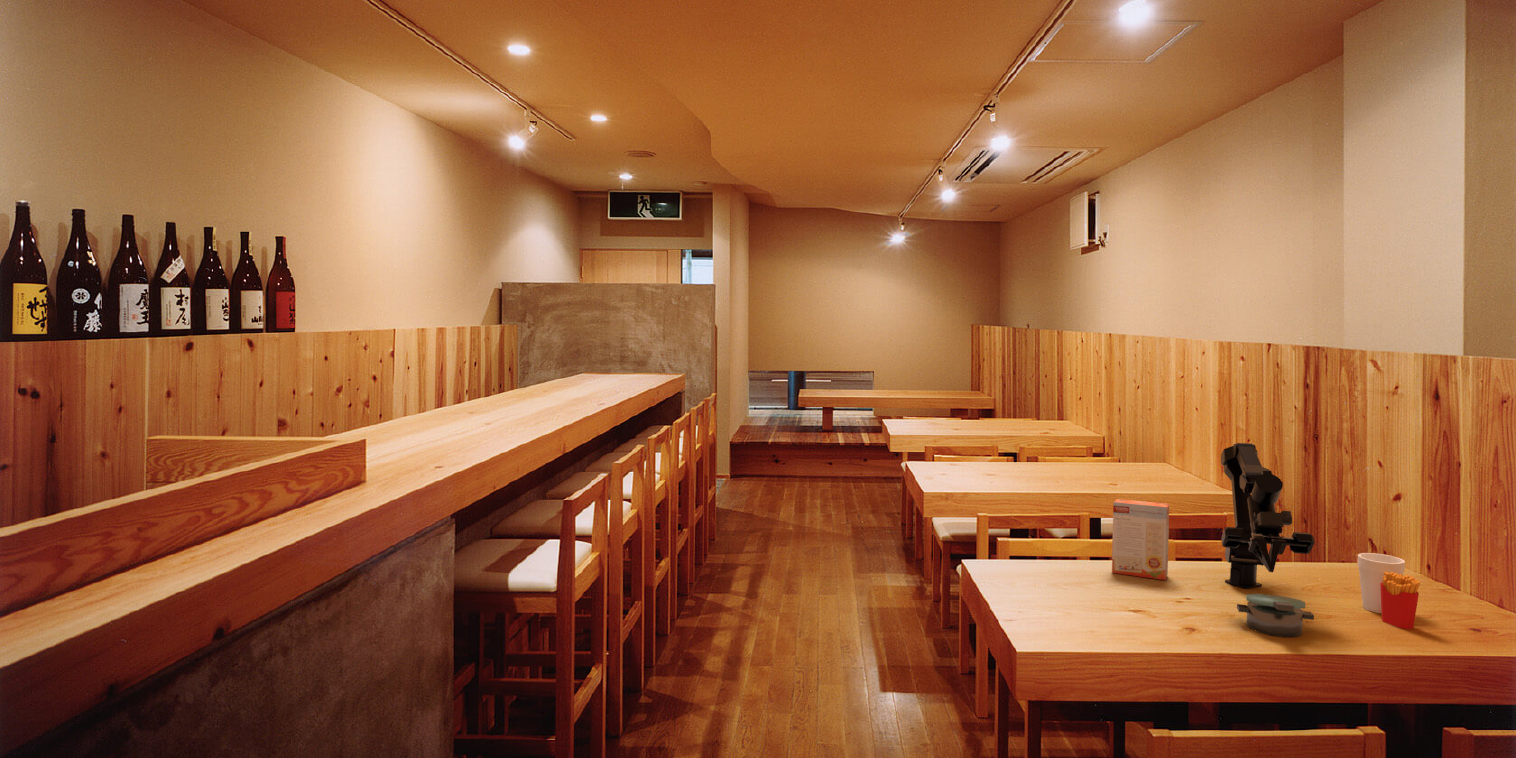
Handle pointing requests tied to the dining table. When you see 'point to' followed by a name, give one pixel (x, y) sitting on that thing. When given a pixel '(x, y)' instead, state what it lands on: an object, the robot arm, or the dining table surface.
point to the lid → (1276, 601)
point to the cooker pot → (1274, 620)
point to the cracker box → (1140, 538)
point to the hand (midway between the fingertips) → (1271, 571)
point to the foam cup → (1376, 577)
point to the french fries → (1399, 599)
